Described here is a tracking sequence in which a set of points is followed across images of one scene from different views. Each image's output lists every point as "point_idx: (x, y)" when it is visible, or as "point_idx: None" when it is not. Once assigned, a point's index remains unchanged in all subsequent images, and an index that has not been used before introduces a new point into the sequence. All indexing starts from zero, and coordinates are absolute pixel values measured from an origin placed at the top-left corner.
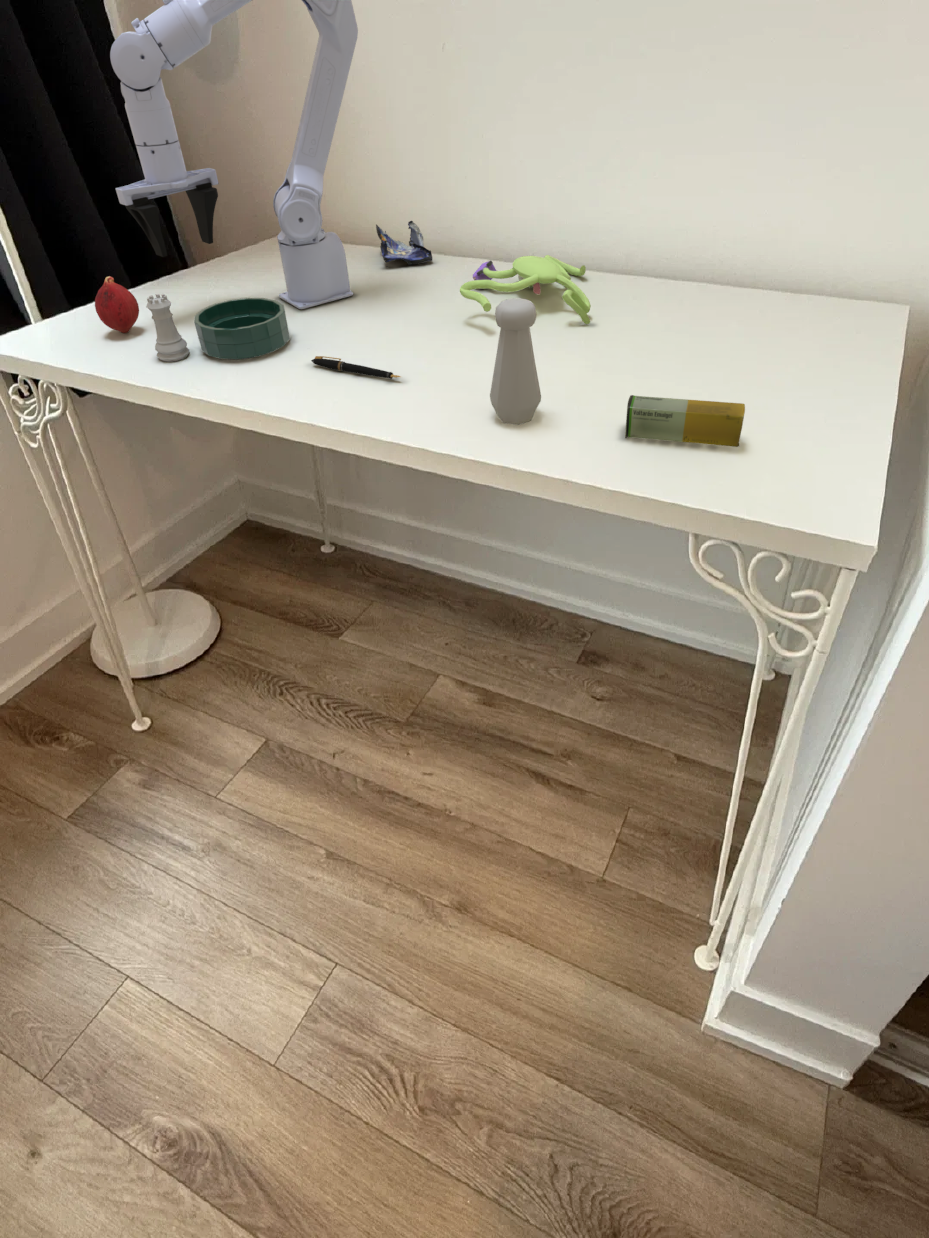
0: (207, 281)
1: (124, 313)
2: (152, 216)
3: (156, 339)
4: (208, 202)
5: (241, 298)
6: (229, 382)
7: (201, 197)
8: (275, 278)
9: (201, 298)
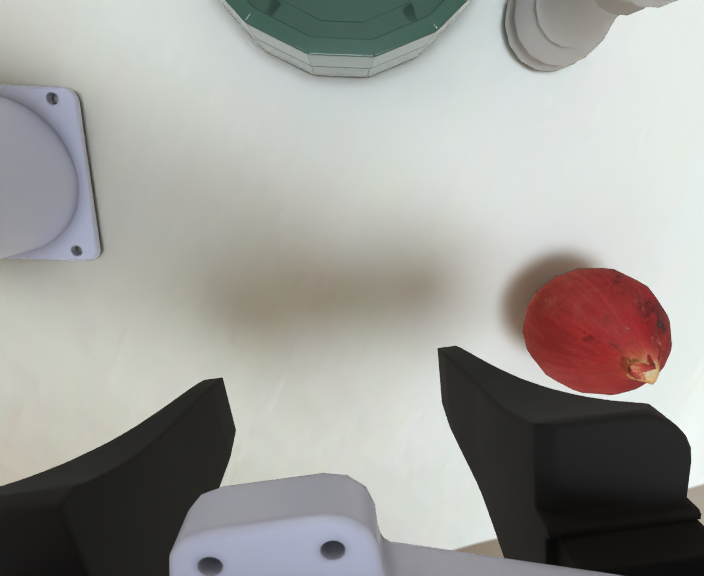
0: None
1: (598, 270)
2: (560, 407)
3: (611, 22)
4: (88, 473)
5: (268, 29)
6: None
7: (109, 525)
8: (56, 417)
9: (289, 409)
